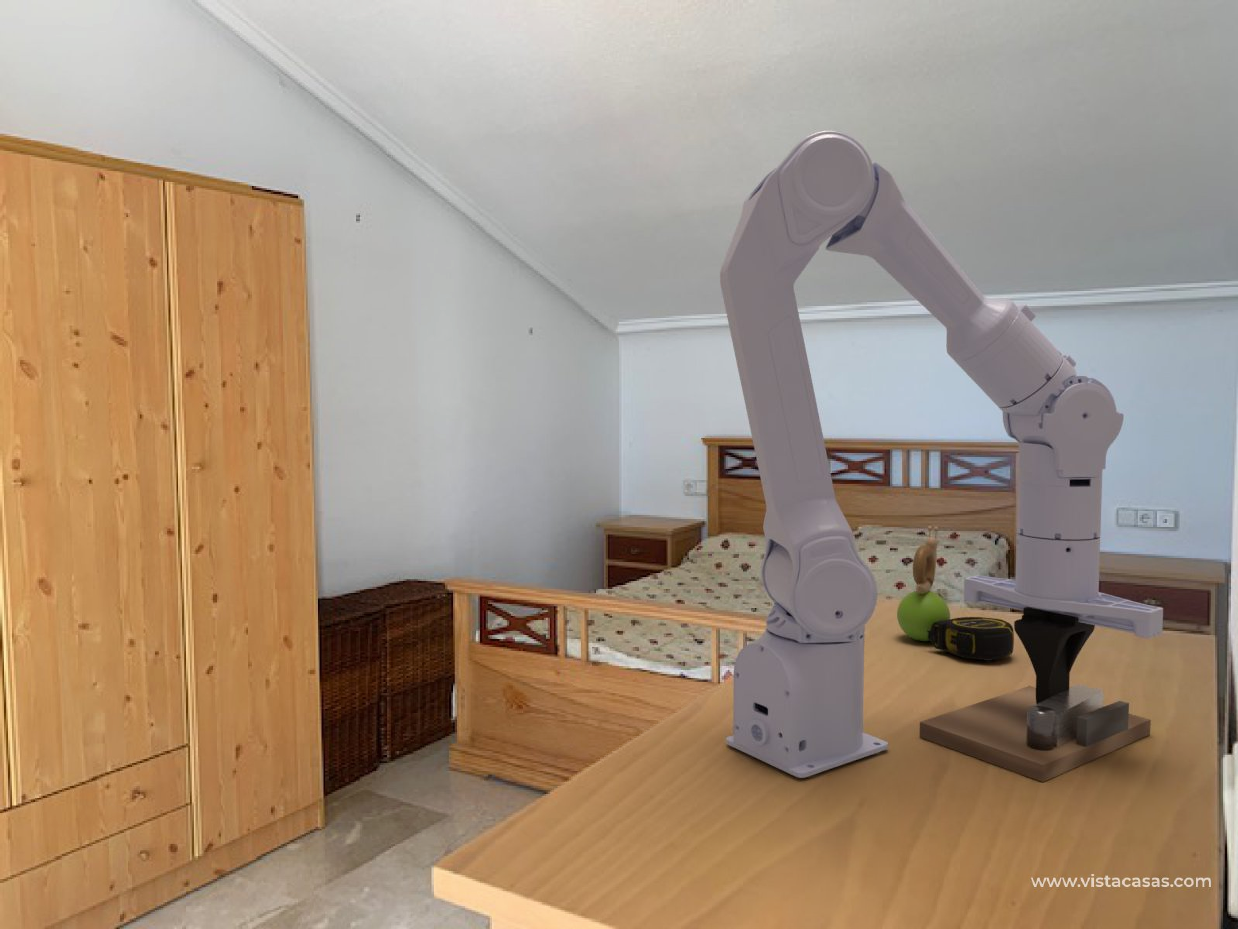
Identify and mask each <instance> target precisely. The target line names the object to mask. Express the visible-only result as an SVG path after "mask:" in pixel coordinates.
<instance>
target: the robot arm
mask: <svg viewBox="0 0 1238 929" xmlns="http://www.w3.org/2000/svg"><path fill="white" fill-rule="evenodd" d="M828 239H829V241H828V242H827V244H826V247H825V250H826V251H829V252H836V253H845V254H852V255H859V256H866V257H869V258H871V259H873V260H874V262H876V263H877V264H878V265H879V266H880V267H881V268H882V269H883V270H885V271H886V273H888V275H890V277H892V278H893V279H894V281H896V282H897V283H898V284H900V286H901V287H903V288H904V289H905V290H906V291H907V292H908V293H909V294H910V295H911V296H912V297H913V298H914V299H915V300H916V301H917V302H918V303H919V304H921V305H922V306H923V307H924V308H925V309H926V310H927V311H928V312H929V313H930V314H931V315H932V316H934V317H935V319H936V320H937V321H939V322H940V324H941V325H943V326H944V327H945V329H946V352H947V355H948V356H949V357H950V358H951V359H952V360H953V361H954V362H955V363H956V364H957V366H959V368H961V369H962V371H963V372H965V374H966V375H967V376H968V377H969V378H971V380H972V381H973V382H974V383H975V384H976V385H977V386H978V387H979V388H980V390H982V391H983V393H985V395H986V396H987V397H988V398H989V399H990V400H991V401H992V402H993V403H994V404H995V405H996V406H997V408H999V409H1000V410H1001V411H1002V422H1003V427H1004V429H1005V432H1006V434H1007V437H1009V438H1011V439H1014V440H1016V442H1018V465H1017V466H1018V472H1017V473H1018V474H1017V478H1018V479H1017V504H1016V505H1017V506H1016V508H1017V510H1016V511H1017V512H1016V546H1015V547H1016V548H1015V549H1016V551H1015V579H1012V578H1010V579H1009V578H1002V577H1001V578H1000V577H993V576H987V575H986V576H984V575H979V574H978V575H972V576H969V577H964V584H963V585H964V586H963V593H964V594H963V600H964V602H968V603H973V604H976V603H984V604H989V605H994V606H998V607H1004V608H1009V609H1013V610H1017V611H1018V610H1019V611H1022V612H1023V613H1022V615H1021V618H1020V619H1016V620H1015V621H1014V623H1013V631H1014V632H1015V634H1016V635H1017V637H1018V638H1019V641H1021V644H1022V645H1023V648H1024V649H1025V651H1026V654H1027V655H1028V657H1029V660H1030V662H1031V665H1032V667H1033V670H1034V673H1035V688H1036V704H1038V703H1040V702H1042V701H1044V700H1046V699H1048V698H1050V697H1052V696H1054V695H1056V694H1058V693H1061V692H1064V691H1067V690H1069V688H1070V679H1071V678H1070V673H1071V670H1072V668H1073V665H1074V664H1075V661H1076V659H1077V657H1078V656H1079V654H1080V652H1081V650H1082V649H1083V647H1084V646H1085V644H1086V642H1087V641H1088V639H1089V638H1090V636H1091V635H1092V633H1094V632H1095V628H1096V626H1097V627H1101V628H1106V629H1111V630H1117V631H1122V632H1125V633H1132V634H1133V635H1134V636H1135V637H1138V638H1142V639H1143V638H1144V639H1147V640H1149V639H1152V638H1155V637H1159V636H1161V635H1163V625H1164V624H1163V623H1164V622H1163V620H1164V608H1163V607H1161V606H1154V605H1149V604H1145V603H1142V602H1136V601H1133V600H1130V599H1127V598H1122V597H1118V596H1115V595H1111V594H1107V593H1105V592H1100V591H1099V589H1100V588H1099V586H1100V585H1099V584H1100V555H1101V554H1100V553H1101V552H1100V551H1101V532H1102V531H1101V525H1102V497H1103V496H1102V494H1103V470H1106V466H1107V465H1106V463H1107V462H1106V460H1107V454H1108V450H1109V448H1110V447H1111V446H1112V444H1113V443H1114V442H1115V440H1116V439H1117V438H1118V436H1119V434H1120V432H1121V430H1122V427H1123V423H1124V415H1125V414H1124V413H1122V412H1119V411H1117V407H1116V403H1115V399H1114V397H1113V395H1112V393H1111V390H1109V388H1107V386H1106V385H1105V384H1103V383H1102V382H1101V381H1099V380H1097V379H1096V378H1094V377H1088V376H1084V375H1077V371H1076V368H1075V367H1076V366H1077V362H1076V361H1075V359H1074V358H1073V357H1072V356H1071V355H1070V354H1068V353H1067V354H1062V352H1060V351H1059V350H1058V349H1057V348H1056V346H1055V345H1053V343H1051V341H1050V340H1049V339H1048V338H1047V337H1046V335H1044V334H1043V333H1042V332H1041V331H1040V329H1039V328H1038V327H1037V326H1036V325H1035V324H1034V323H1033V322H1032V321H1034V319H1035V318H1036V317H1037V315H1036V314H1035V312H1034V311H1033V310H1032V309H1031V308H1030V307H1029V306H1028V305H1027V304H1020V305H1016V304H1015V303H1014V301H1013V300H1011V299H1009V298H988V297H985V296H984V295H983V293H982V292H981V291H980V289H978V287H977V286H976V285H975V284H974V282H973V281H972V280H971V279H970V278H969V276H968V275H967V274H966V273H965V271H963V269H962V268H961V267H960V266H959V264H958V263H957V262H956V260H954V258H953V257H952V256H951V255H950V254H949V252H948V251H947V250H946V249H945V247H944V246H943V245H942V244H941V243H940V242H939V240H938V239H937V238H936V236H934V234H933V232H931V230H929V227H927V226H926V225H925V224H924V222H923V221H922V219H921V218H920V217H919V216H918V215H917V213H916V212H915V211H914V210H913V209H912V208H911V206H910V205H909V204H908V203H907V201H906V200H905V198H904V196H903V194H902V192H901V191H900V189H899V187H898V185H897V183H896V180H895V179H894V177H893V175H892V174H891V172H890V171H889V170H888V169H886V168H885V167H884V166H883V165H881V164H880V163H879V162H878V161H875V162H873V161H872V159H871V157H870V154H869V152H868V151H867V150H866V148H865V147H864V146H863V144H861V143H860V141H858V140H857V139H856V138H854V137H853V136H851V135H849V134H846V133H843V132H840V131H834V130H823V131H817V132H815V133H812V134H809V135H807V136H806V137H804V138H803V139H801V140H799V142H798V143H797V144H796V145H795V146H794V147H793V148H792V149H791V150H790V151H789V153H788V154H786V156H785V157H784V159H783V160H782V161H781V162H780V163H779V164H778V165H777V166H776V167H775V168H774V169H772V170H771V171H770V172H768V174H767V175H765V177H764V178H763V179H762V180H761V181H760V182H759V184H757V186H756V187H755V188H754V189H753V190H752V192H751V193H750V194H749V196H747V198H746V199H745V200H744V202H743V204H742V211H741V215H740V218H739V220H738V222H737V226H736V228H735V230H734V233H733V236H732V238H731V241H730V244H729V246H728V249H727V252H726V254H725V257H724V259H723V263H722V264H721V267H720V271H719V282H720V288H721V289H720V290H721V293H722V298H723V303H724V308H725V313H726V317H727V322H728V327H729V332H730V336H731V342H732V346H733V351H734V356H735V361H736V362H735V363H736V365H737V371H738V375H739V380H740V385H741V389H742V390H741V391H742V395H743V399H744V404H745V410H746V415H747V419H748V423H749V429H750V433H751V439H752V443H753V444H752V445H753V448H754V453H755V458H756V462H757V468H758V473H759V476H760V482H761V487H762V490H763V495H764V496H763V497H764V501H765V506H766V509H765V510H766V511H765V515H764V521H763V525H762V526H763V527H762V529H763V534H764V539H765V540H764V541H765V548H764V549H765V550H764V555H763V559H762V562H761V566H760V579H761V584H762V586H763V589H764V592H765V593H766V594H767V596H768V597H769V598H770V599H771V600H772V602H773V606H772V607H771V609H770V611H769V613H768V616H767V617H766V619H765V621H766V622H765V624H766V625H765V627H766V629H764V632H763V633H762V635H761V636H760V637H759V638H758V639H756V640H755V641H753V642H750V643H748V644H746V645H745V646H743V647H742V648H741V649H740V651H739V652H738V654H737V656H736V658H735V662H734V667H733V719H732V720H733V723H732V724H733V728H732V730H733V732H732V735H728V736H727V737H726V738H725V743H726V745H728V746H729V747H732V748H734V749H736V750H738V751H740V752H742V753H745V754H747V755H748V756H751V757H753V758H755V759H757V760H760V761H761V762H764V763H766V764H768V765H770V766H773V767H774V768H777V769H779V770H781V771H782V772H785V773H787V774H789V775H791V776H794V777H796V778H799V779H804V778H808V777H811V776H814V775H816V774H819V773H823V772H825V771H828V770H830V769H834V768H836V767H840V766H842V765H846V764H848V763H851V762H854V761H856V760H857V761H858V760H860V759H863V758H865V757H869V756H871V755H875V754H878V753H880V752H883V751H886V750H888V749H889V742H888V741H886V740H884V739H881V738H878V737H876V736H874V735H870V734H868V733H866V732H864V694H865V693H864V691H865V690H864V682H865V680H864V679H865V675H864V674H865V631H866V628H865V627H866V624H867V623H868V622H869V621H870V619H871V618H872V616H873V614H874V612H875V609H876V606H877V602H878V586H877V581H876V579H875V576H874V573H873V572H872V570H871V568H870V567H869V566H868V564H867V563H866V562H865V561H864V560H863V559H862V558H861V555H860V554H859V553H858V550H857V546H856V545H855V539H854V533H853V531H852V528H851V527H850V526H851V525H849V522H848V520H847V518H846V517H845V515H844V513H843V511H842V509H841V508H840V505H839V503H838V502H837V499H836V494H835V489H834V485H833V484H834V483H833V479H832V475H831V474H832V473H831V469H830V465H829V464H830V463H829V460H828V459H829V458H828V455H827V450H826V444H825V438H824V434H823V429H822V425H821V419H820V414H819V410H818V405H817V401H816V400H817V399H816V395H815V389H814V385H813V379H812V374H811V369H810V365H809V359H808V355H807V350H806V344H805V339H804V335H803V329H802V324H801V320H800V315H799V310H798V304H797V299H796V295H795V290H794V286H795V283H796V281H797V280H798V278H799V277H800V275H801V274H802V273H803V271H804V270H805V269H806V267H807V266H808V264H809V263H810V262H811V261H812V259H813V258H814V256H815V255H816V254H817V252H818V250H820V247H821V245H822V244H824V242H825V241H827V240H828Z"/></svg>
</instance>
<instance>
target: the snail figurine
mask: <svg viewBox="0 0 1238 929" xmlns="http://www.w3.org/2000/svg"><path fill="white" fill-rule="evenodd" d="M932 530H933V531H934V532H935V533H937V532H938V531H939V527H938V526H934V527H933V526H931V525H928V526H927V531H928V533H929V534H928V535H929V536H928V537H927V539H926V540H925V544H924V545H920V546H919V547H918V548H917V549H916V551H915V554H914V556H913V562H912V576H913V581H914V582H915V584H916V585H915V591H912V592H909V593H908V594H906V595H905V596H904V597H903V598H902V599H901V601H900V602H899V605H898V606H897V607H898V608H897V610H896V618H897V622H898V625H899V627H900V629H901V631H903V633H904V634H906V636H908V637H910V639H913V640H916V641H920V642H930V641H931V640H929V639H928V632H927V630H931V626H932V624H933V623H935V622H937V621H942V620H949V619H951V613H950V609H949V606H948V604H947V603H946V601H945V600H944V599H943V597H941V596H940V595H939V594H937V593H936V592H933V591H930V590H932V586H934V583H935V582H934V581H935V574H936V568H937V561H938V555H937V554H938V553H937V550H938V546H939V542H938V540H937V535H935V537H934V536H931V532H932Z"/></svg>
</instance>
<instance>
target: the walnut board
mask: <svg viewBox="0 0 1238 929" xmlns="http://www.w3.org/2000/svg"><path fill="white" fill-rule="evenodd" d="M1034 705H1036V686H1031V685H1028V686H1025V687H1021V688H1019V689H1016V690H1013V691H1010V692H1007V693H1003V694H1000V695H997V696H994V697H992V698H988V699H985V700H983V701H979V702H977V703H973V704H971V705H967V706H963V707H961V708H959V709H955V710H952V711H949V712H946V713H943V714H939V715H937V716H934V717H931V718H928V719H925V720H921V721H919V738H921V739H924V740H926V741H929V742H932V743H934V744H937V745H940V746H943V747H946V748H949V749H951V750H954V751H956V752H960V753H962V754H964V755H968V756H970V757H973V758H976V759H978V760H982V761H983V762H987V763H989V764H992V765H994V766H998V767H1000V768H1002V769H1005V770H1009V771H1011V772H1014V773H1017V774H1020V775H1023V776H1025V777H1028V778H1030V779H1033V780H1036V781H1038V782H1041V783H1044V782H1047V781H1049V780H1051V779H1053V778H1055V777H1057V776H1061V775H1062V774H1065V773H1067V772H1069V771H1071V770H1074V769H1076V768H1078V767H1081V766H1083V765H1085V764H1087V763H1089V762H1092V761H1093V760H1094V761H1095V760H1097V759H1098V758H1100V757H1103V756H1105V755H1108V754H1109V753H1113V752H1114V751H1116V750H1118V749H1121V748H1123V747H1125V746H1128V745H1130V744H1132V743H1134V742H1136V741H1139V740H1142V739H1143V738H1146V737H1148V736H1151V722H1152V720H1151V719H1150V718H1148V717H1147V718H1146V717H1142V716H1139V715H1135V714H1132V713H1129V711H1130V703H1129V702H1125V701H1122V700H1118V701H1116V702H1113V703H1110V704H1107V705H1103V707H1102V708H1099V709H1097V710H1094V711H1092V712H1089V713H1086V714H1084V715H1081V716H1078V717H1077V736H1076V737H1074V738H1072V739H1071V740H1069V741H1067V742H1066V743H1064V744H1062V745H1061V746H1059V747H1054V748H1053V749H1051V750H1038V749H1034V748H1031V747H1029V746H1028V745H1027V744H1026V735H1027V708H1028V707H1029V706H1034Z"/></svg>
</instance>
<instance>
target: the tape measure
mask: <svg viewBox="0 0 1238 929" xmlns="http://www.w3.org/2000/svg"><path fill="white" fill-rule="evenodd" d="M927 632H928V639H929V640H931V645H932V646H933V647H934V648H935V649H937V650H942V651H948V652H949V653H950V654H952V655H954V656H958V657H961V658H967V659H974V660H982V659H984V660H985V662H987V661H986V660H988V661H991V660H990V659H993V660H999V659H1004V658H1006V657H1009V656H1010V655H1011V656H1012V653H1013V652H1014V645H1015V637H1014V636H1015V633H1014V632H1015V630H1014V626H1013V625H1012V624H1011V623H1010V622H1008V621H1006V620H1004V619H1002V618H1001V619H1000V618H993V617H982V616H962V617H955V618H954V617H953V618H950V619H949V620H942V621H937V622H935V623H933V624H932V626H931V630H927ZM984 660H983V661H984Z"/></svg>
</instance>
